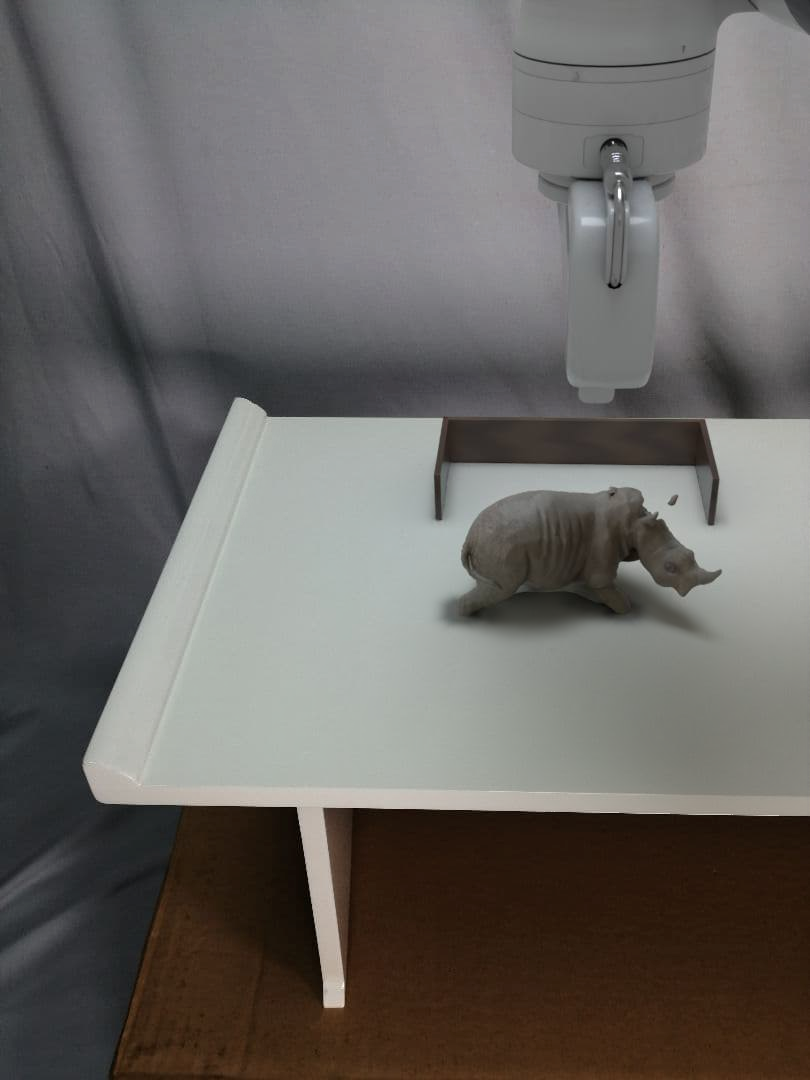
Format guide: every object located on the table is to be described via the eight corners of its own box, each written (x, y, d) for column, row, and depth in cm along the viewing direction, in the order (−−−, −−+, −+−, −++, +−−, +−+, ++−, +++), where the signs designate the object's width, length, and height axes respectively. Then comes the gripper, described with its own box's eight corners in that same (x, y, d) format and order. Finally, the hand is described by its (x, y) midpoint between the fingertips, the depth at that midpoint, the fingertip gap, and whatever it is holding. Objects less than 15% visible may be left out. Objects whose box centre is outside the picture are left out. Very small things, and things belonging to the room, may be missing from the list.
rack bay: (700, 462, 96) (705, 418, 94) (714, 524, 88) (719, 478, 86) (444, 458, 98) (443, 416, 96) (435, 519, 90) (433, 474, 88)
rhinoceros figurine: (418, 541, 83) (548, 394, 75) (572, 628, 87) (712, 498, 79) (409, 615, 77) (549, 464, 69) (575, 706, 81) (727, 573, 72)
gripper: (706, 181, 44) (675, 495, 52) (661, 65, 61) (643, 315, 69) (538, 183, 45) (531, 493, 52) (540, 68, 62) (534, 315, 69)
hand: (594, 391), depth 61 cm, fingers closed
